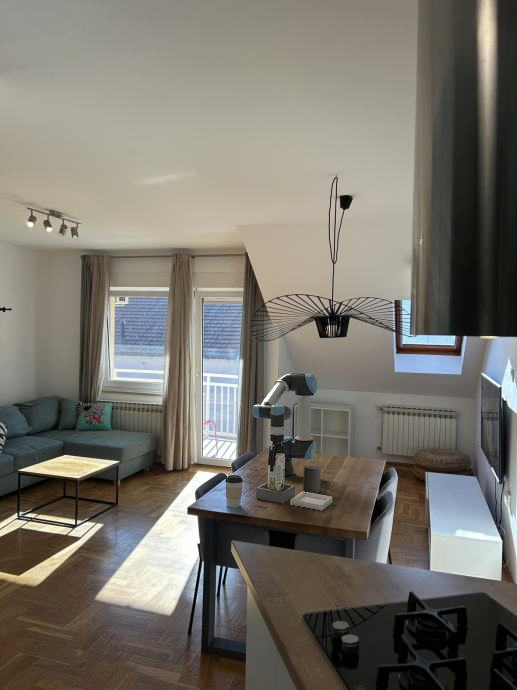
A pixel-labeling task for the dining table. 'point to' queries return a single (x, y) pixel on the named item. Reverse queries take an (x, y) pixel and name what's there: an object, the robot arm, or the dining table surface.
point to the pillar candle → (311, 478)
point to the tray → (311, 500)
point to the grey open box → (275, 493)
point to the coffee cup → (233, 490)
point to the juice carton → (277, 473)
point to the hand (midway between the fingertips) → (276, 475)
